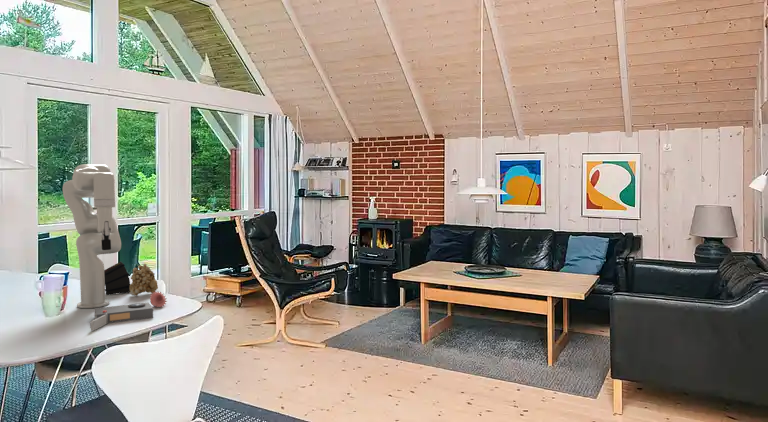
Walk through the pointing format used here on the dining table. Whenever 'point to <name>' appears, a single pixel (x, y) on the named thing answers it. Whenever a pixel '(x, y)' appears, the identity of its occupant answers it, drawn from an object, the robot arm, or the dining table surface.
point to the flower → (157, 299)
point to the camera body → (125, 312)
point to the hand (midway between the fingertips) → (106, 249)
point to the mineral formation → (143, 281)
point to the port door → (99, 322)
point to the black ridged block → (116, 279)
